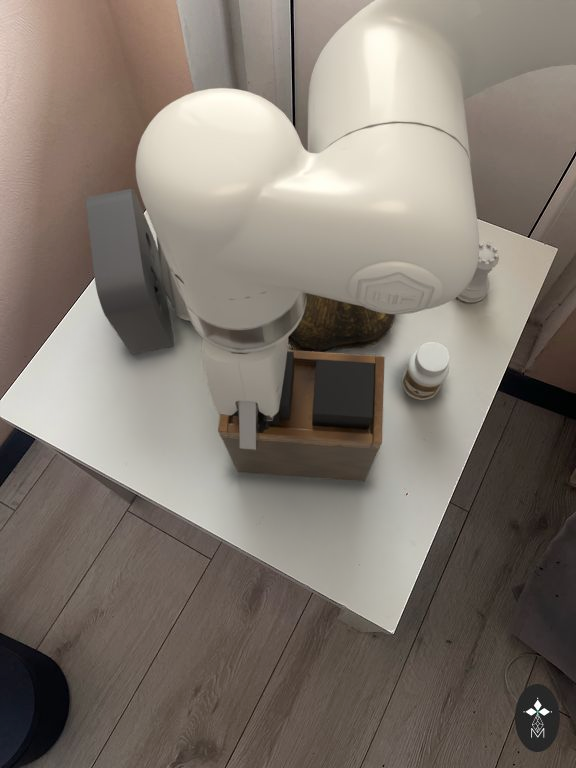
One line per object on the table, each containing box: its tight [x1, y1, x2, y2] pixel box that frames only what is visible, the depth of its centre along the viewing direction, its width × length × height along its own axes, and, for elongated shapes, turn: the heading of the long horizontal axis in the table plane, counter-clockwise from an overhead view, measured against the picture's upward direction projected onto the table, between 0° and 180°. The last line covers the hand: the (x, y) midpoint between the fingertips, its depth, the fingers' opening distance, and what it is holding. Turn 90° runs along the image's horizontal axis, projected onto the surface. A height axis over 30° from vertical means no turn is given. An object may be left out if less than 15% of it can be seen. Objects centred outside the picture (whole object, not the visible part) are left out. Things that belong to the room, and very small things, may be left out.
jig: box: [217, 349, 385, 482], centre depth 61 cm, size 14×8×16 cm, turn 85°
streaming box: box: [85, 188, 175, 355], centre depth 69 cm, size 14×14×5 cm
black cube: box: [233, 351, 294, 420], centre depth 53 cm, size 5×5×4 cm
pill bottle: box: [401, 341, 451, 401], centre depth 67 cm, size 4×4×8 cm
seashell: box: [288, 293, 396, 353], centre depth 71 cm, size 16×9×7 cm, turn 98°
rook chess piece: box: [456, 242, 500, 303], centre depth 71 cm, size 4×4×8 cm
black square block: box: [312, 359, 375, 430], centre depth 53 cm, size 5×5×4 cm
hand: (264, 389), depth 54 cm, fingers closed on black cube, 5 cm apart
